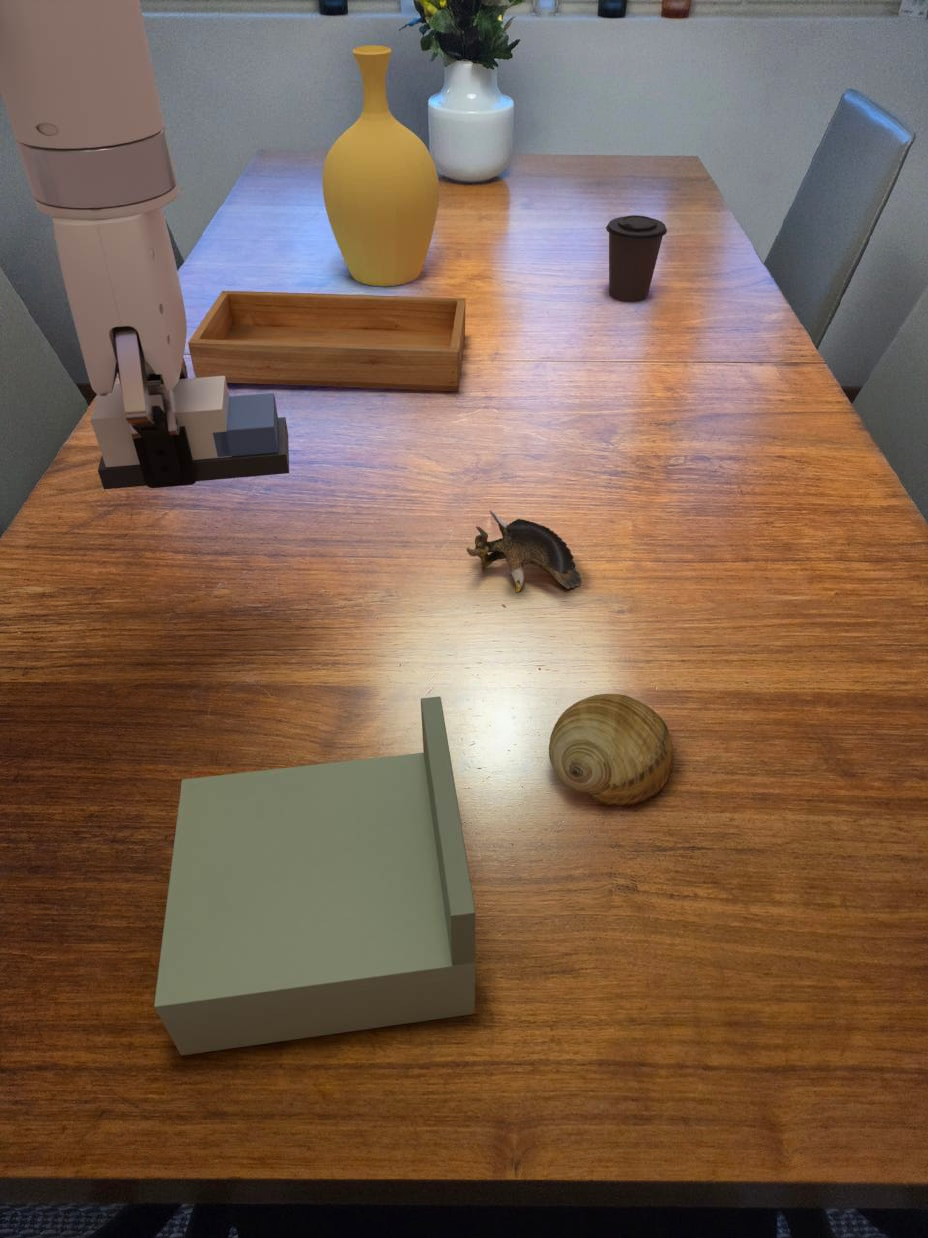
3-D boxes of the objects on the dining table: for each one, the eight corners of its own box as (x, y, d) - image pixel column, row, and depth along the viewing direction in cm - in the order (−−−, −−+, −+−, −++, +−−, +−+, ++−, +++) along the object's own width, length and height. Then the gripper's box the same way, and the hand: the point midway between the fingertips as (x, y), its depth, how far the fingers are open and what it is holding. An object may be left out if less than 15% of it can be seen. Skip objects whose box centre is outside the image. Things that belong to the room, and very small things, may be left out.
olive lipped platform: (180, 1056, 47) (126, 958, 40) (202, 835, 57) (162, 725, 50) (474, 1014, 49) (475, 913, 41) (444, 806, 59) (440, 695, 51)
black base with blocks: (103, 489, 57) (81, 421, 54) (113, 449, 61) (93, 383, 57) (289, 473, 59) (278, 405, 55) (288, 435, 62) (278, 369, 59)
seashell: (622, 763, 67) (574, 674, 65) (705, 747, 62) (656, 651, 61) (570, 843, 59) (515, 745, 58) (661, 831, 55) (603, 724, 53)
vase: (312, 286, 125) (284, 57, 106) (357, 247, 136) (339, 34, 117) (418, 300, 121) (408, 65, 102) (455, 259, 132) (453, 40, 114)
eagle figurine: (468, 598, 73) (575, 595, 71) (463, 512, 72) (572, 506, 70) (488, 587, 80) (587, 584, 78) (484, 509, 79) (583, 504, 77)
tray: (465, 337, 112) (465, 293, 109) (458, 394, 101) (458, 348, 97) (229, 332, 114) (221, 289, 110) (197, 388, 102) (187, 342, 99)
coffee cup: (597, 303, 120) (604, 228, 113) (601, 281, 126) (608, 208, 119) (657, 307, 119) (668, 231, 112) (658, 285, 125) (668, 211, 118)
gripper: (57, 131, 53) (133, 404, 65) (-10, 226, 40) (100, 541, 53) (184, 126, 54) (236, 396, 66) (157, 217, 41) (227, 529, 53)
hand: (175, 458), depth 59 cm, fingers closed on black base with blocks, 5 cm apart
